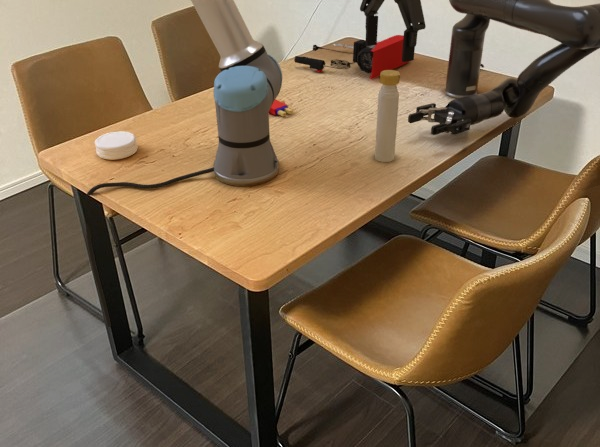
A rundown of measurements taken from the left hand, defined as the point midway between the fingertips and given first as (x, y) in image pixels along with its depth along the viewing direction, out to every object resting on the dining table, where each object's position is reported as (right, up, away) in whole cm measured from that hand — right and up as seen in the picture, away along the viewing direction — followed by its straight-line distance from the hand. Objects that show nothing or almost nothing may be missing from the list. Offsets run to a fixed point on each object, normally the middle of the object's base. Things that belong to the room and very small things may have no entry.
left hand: (388, 52), depth 139 cm
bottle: (+1, -22, +12) cm, 25 cm away
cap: (0, -5, 0) cm, 5 cm away
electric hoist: (-2, +16, +71) cm, 73 cm away
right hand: (+10, -14, +13) cm, 21 cm away
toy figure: (-27, -6, +38) cm, 47 cm away
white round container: (-66, -21, +16) cm, 71 cm away
